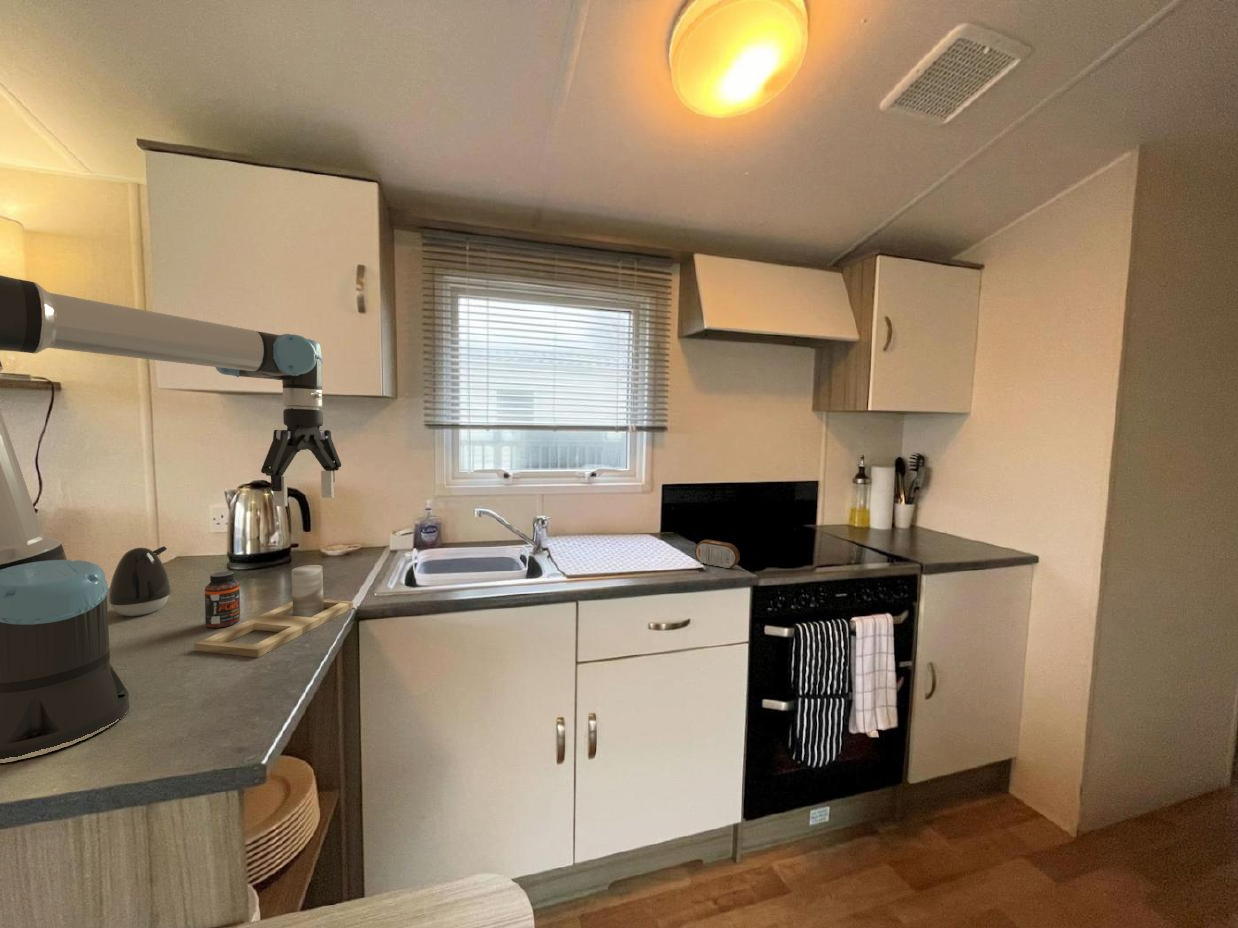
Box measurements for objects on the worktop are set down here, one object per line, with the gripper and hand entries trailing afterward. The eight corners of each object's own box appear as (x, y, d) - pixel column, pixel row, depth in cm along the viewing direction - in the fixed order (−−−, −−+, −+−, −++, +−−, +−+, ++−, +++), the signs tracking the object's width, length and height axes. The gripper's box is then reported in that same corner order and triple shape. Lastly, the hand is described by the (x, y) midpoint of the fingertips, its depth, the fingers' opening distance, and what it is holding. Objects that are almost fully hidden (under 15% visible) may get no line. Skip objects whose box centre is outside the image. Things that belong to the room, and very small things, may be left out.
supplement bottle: (220, 630, 102) (218, 578, 102) (198, 627, 104) (196, 576, 103) (247, 619, 108) (245, 570, 107) (226, 617, 109) (224, 568, 109)
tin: (739, 569, 157) (740, 543, 157) (736, 571, 154) (737, 545, 154) (696, 561, 165) (697, 537, 165) (693, 563, 162) (694, 539, 162)
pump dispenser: (183, 606, 115) (180, 544, 114) (129, 623, 105) (125, 555, 104) (153, 601, 118) (150, 541, 117) (98, 617, 108) (94, 551, 107)
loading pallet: (258, 657, 91) (256, 600, 90) (195, 650, 93) (192, 595, 92) (353, 607, 117) (352, 563, 116) (302, 603, 119) (301, 559, 118)
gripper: (270, 405, 95) (273, 510, 97) (356, 411, 120) (357, 495, 122) (237, 405, 97) (241, 509, 98) (329, 410, 121) (331, 493, 123)
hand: (305, 501), depth 110 cm, fingers open, 13 cm apart
